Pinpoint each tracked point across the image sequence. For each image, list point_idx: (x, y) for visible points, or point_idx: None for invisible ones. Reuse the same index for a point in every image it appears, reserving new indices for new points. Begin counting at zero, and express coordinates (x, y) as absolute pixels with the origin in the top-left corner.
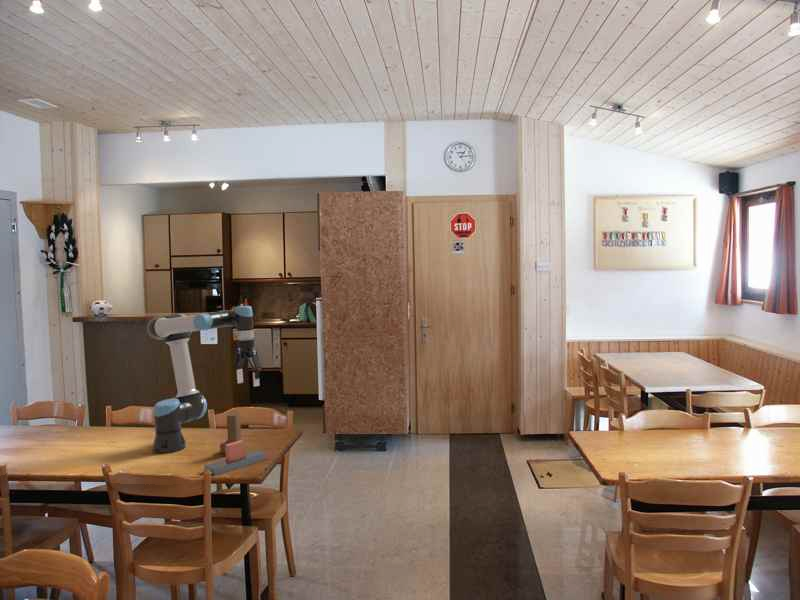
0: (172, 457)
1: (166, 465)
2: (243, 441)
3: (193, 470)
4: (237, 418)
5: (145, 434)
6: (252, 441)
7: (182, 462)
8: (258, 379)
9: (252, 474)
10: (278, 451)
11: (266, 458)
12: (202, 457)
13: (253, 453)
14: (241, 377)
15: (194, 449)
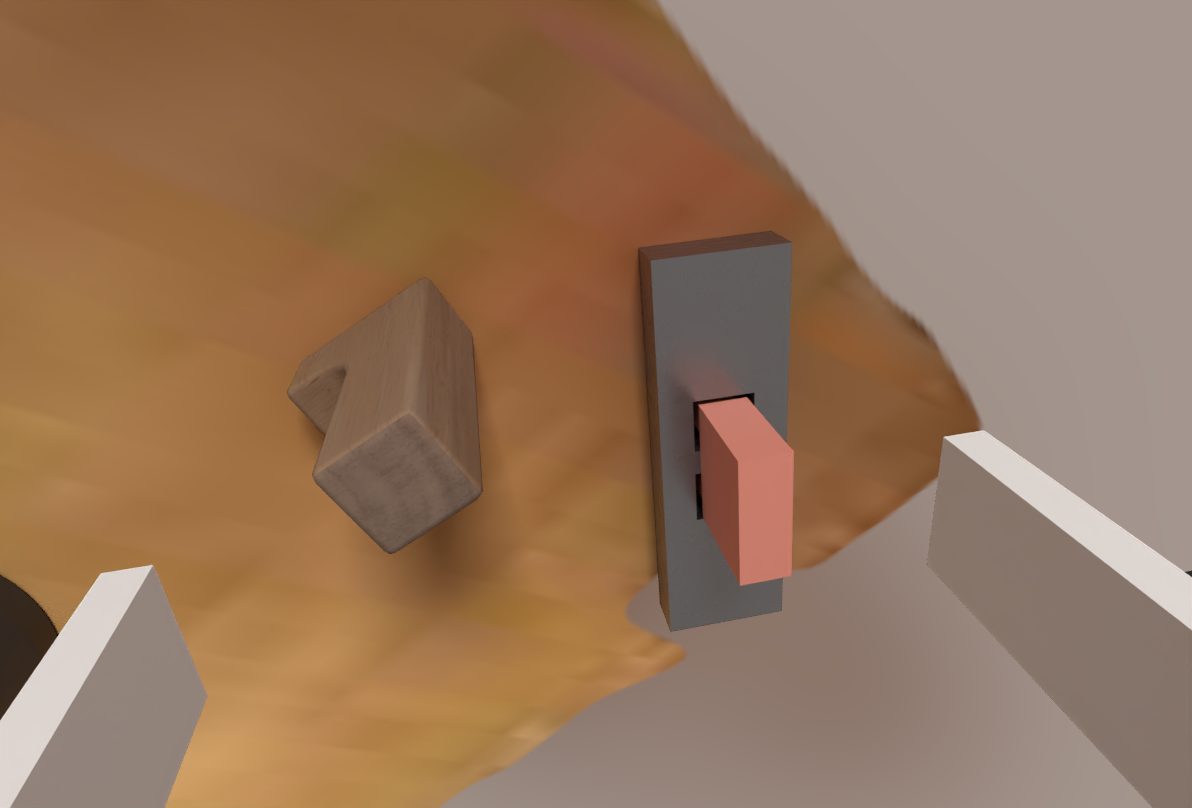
0: (201, 672)
1: (362, 723)
2: (789, 461)
3: (583, 638)
4: (452, 436)
5: None
6: (162, 46)
7: (372, 650)
8: (1108, 545)
9: (932, 430)
10: (673, 47)
11: (774, 234)
12: (355, 536)
13: (722, 322)
14: (98, 737)
15: (82, 522)
